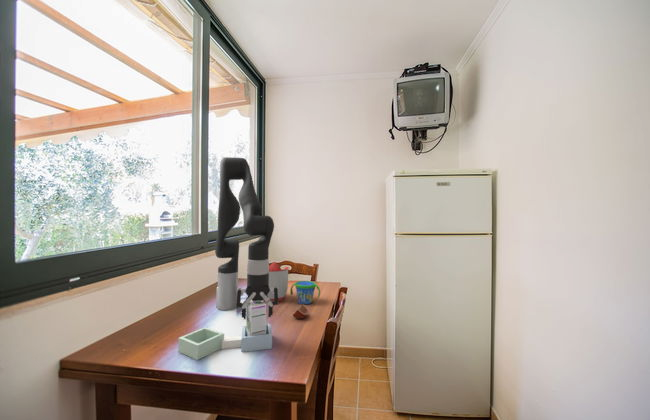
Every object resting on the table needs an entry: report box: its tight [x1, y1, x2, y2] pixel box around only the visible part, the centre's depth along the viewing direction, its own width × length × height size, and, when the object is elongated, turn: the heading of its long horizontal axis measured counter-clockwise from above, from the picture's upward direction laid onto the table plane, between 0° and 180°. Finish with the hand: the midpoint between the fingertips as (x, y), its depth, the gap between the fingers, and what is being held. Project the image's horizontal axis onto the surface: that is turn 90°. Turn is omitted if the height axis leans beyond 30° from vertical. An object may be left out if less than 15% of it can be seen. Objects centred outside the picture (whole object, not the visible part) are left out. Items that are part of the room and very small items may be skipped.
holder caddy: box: [177, 323, 273, 361], centre depth 93 cm, size 30×14×4 cm, turn 105°
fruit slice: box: [292, 304, 310, 320], centre depth 120 cm, size 8×7×5 cm
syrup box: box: [245, 300, 267, 336], centre depth 95 cm, size 6×6×14 cm
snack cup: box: [289, 280, 321, 305], centre depth 140 cm, size 16×11×10 cm
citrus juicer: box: [262, 262, 290, 303], centre depth 145 cm, size 16×17×20 cm
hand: (257, 317), depth 96 cm, fingers open, 8 cm apart
